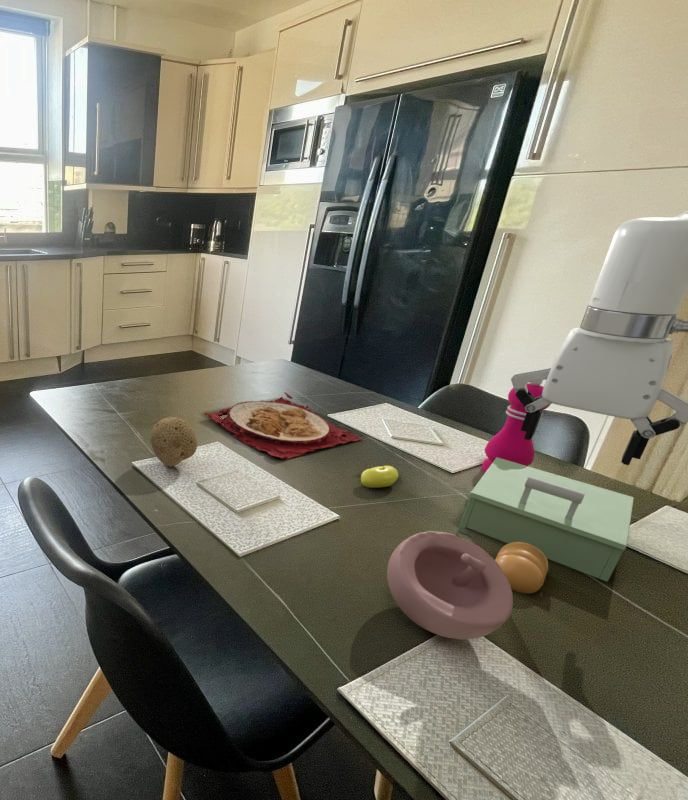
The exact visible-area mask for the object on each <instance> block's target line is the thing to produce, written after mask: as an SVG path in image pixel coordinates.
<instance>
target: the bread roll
mask: <svg viewBox="0 0 688 800" xmlns="http://www.w3.org/2000/svg"><path fill="white" fill-rule="evenodd" d="M494 560H495V561H496V562H497V564H498V565H499V566H500V567H501V569H502V570H503V572H504V574H505V576H506V577H507V579H508V582H509V584H510V586H511V590H512V591H514V592H517V593H520V594H527V595H528V594H533V593H536V592H538V591H539V590H541V588H542V587H543V585H544V582H545V580H546V577H547V575H548V572H549V559H547V558H546V557H545V555H544V554H543V552H542V551H540V550H539V549H538V548H536V547H535V546H533V545H530V544H527V543H523V542H512V543H509V544H508V543H506V544H505V545H503V546H502V547H501V548H500V549H499V551H498V552H497V555H496V556H495V559H494Z"/></svg>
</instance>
